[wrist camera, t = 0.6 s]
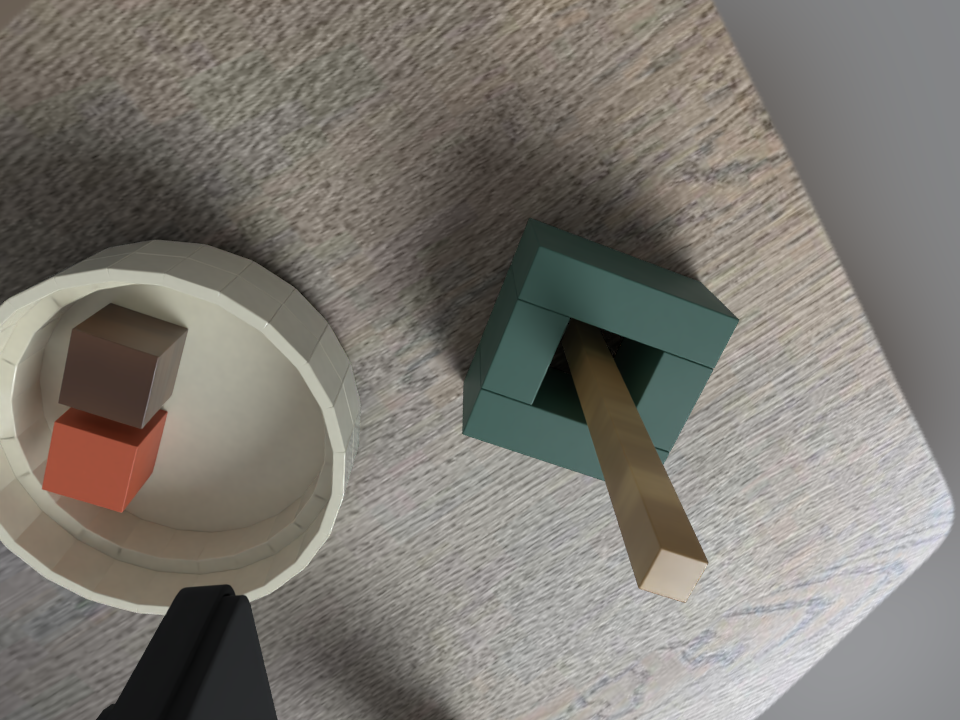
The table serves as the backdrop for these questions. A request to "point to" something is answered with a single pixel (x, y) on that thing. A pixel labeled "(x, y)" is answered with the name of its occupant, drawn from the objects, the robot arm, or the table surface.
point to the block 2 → (101, 458)
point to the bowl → (183, 430)
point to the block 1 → (122, 365)
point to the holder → (602, 303)
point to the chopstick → (633, 472)
